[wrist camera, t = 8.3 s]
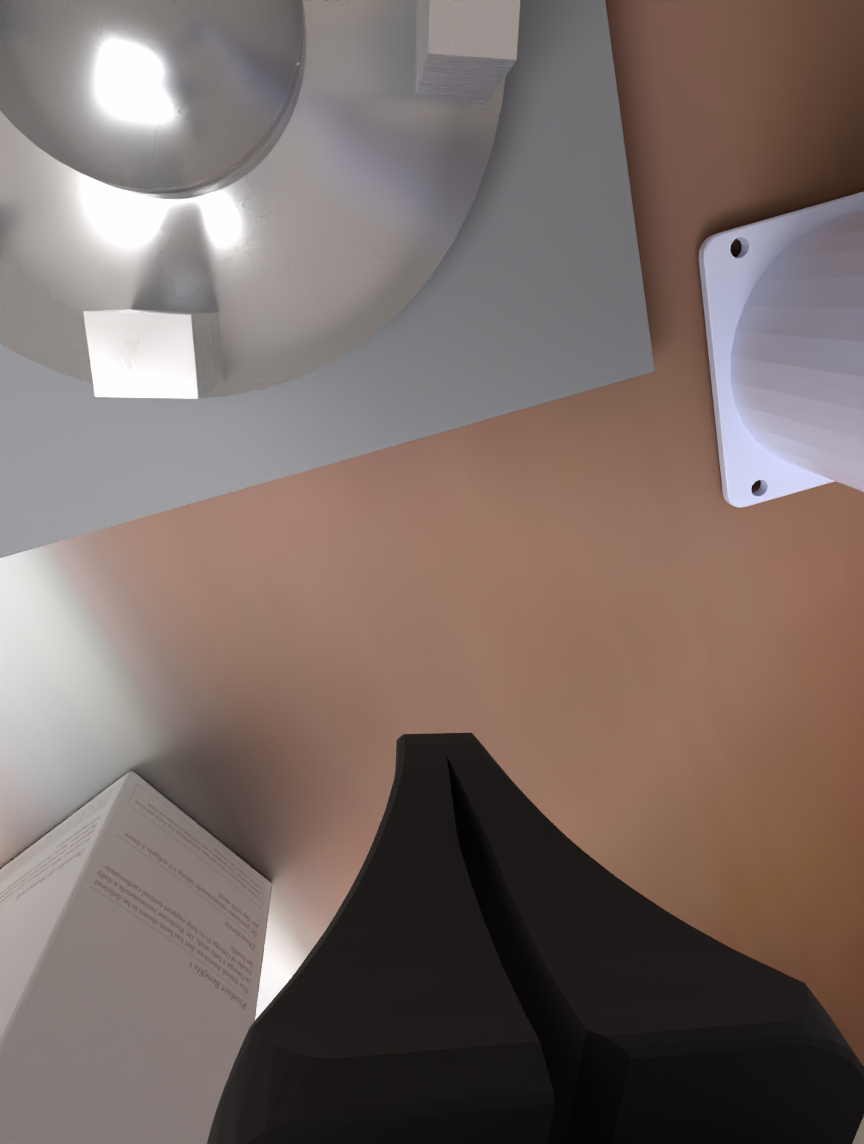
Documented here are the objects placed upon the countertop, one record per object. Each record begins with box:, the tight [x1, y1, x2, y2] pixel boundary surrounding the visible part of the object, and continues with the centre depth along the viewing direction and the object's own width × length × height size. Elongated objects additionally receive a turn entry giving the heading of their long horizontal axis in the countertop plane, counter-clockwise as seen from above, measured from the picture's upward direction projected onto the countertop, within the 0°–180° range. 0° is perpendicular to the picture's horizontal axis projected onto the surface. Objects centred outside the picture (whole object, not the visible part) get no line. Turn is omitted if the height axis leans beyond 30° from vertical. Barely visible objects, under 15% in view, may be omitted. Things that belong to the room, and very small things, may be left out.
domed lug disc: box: [0, 0, 520, 399], centre depth 13 cm, size 15×15×4 cm
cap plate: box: [0, 0, 655, 558], centre depth 16 cm, size 20×20×1 cm
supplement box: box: [0, 771, 272, 1144], centre depth 20 cm, size 7×7×13 cm
